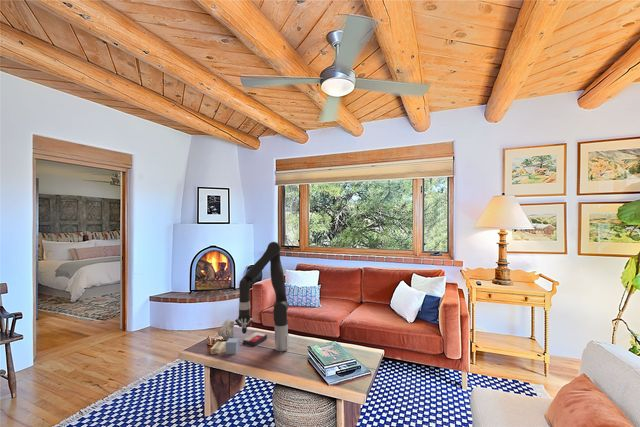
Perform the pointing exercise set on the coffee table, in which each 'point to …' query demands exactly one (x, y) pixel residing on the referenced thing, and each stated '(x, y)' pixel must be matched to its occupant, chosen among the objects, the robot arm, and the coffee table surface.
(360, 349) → the coffee table surface
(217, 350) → the tan lumpy piece
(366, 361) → the coffee table surface
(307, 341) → the coffee table surface
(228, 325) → the fossil
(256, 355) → the coffee table surface
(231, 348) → the block
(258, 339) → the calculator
